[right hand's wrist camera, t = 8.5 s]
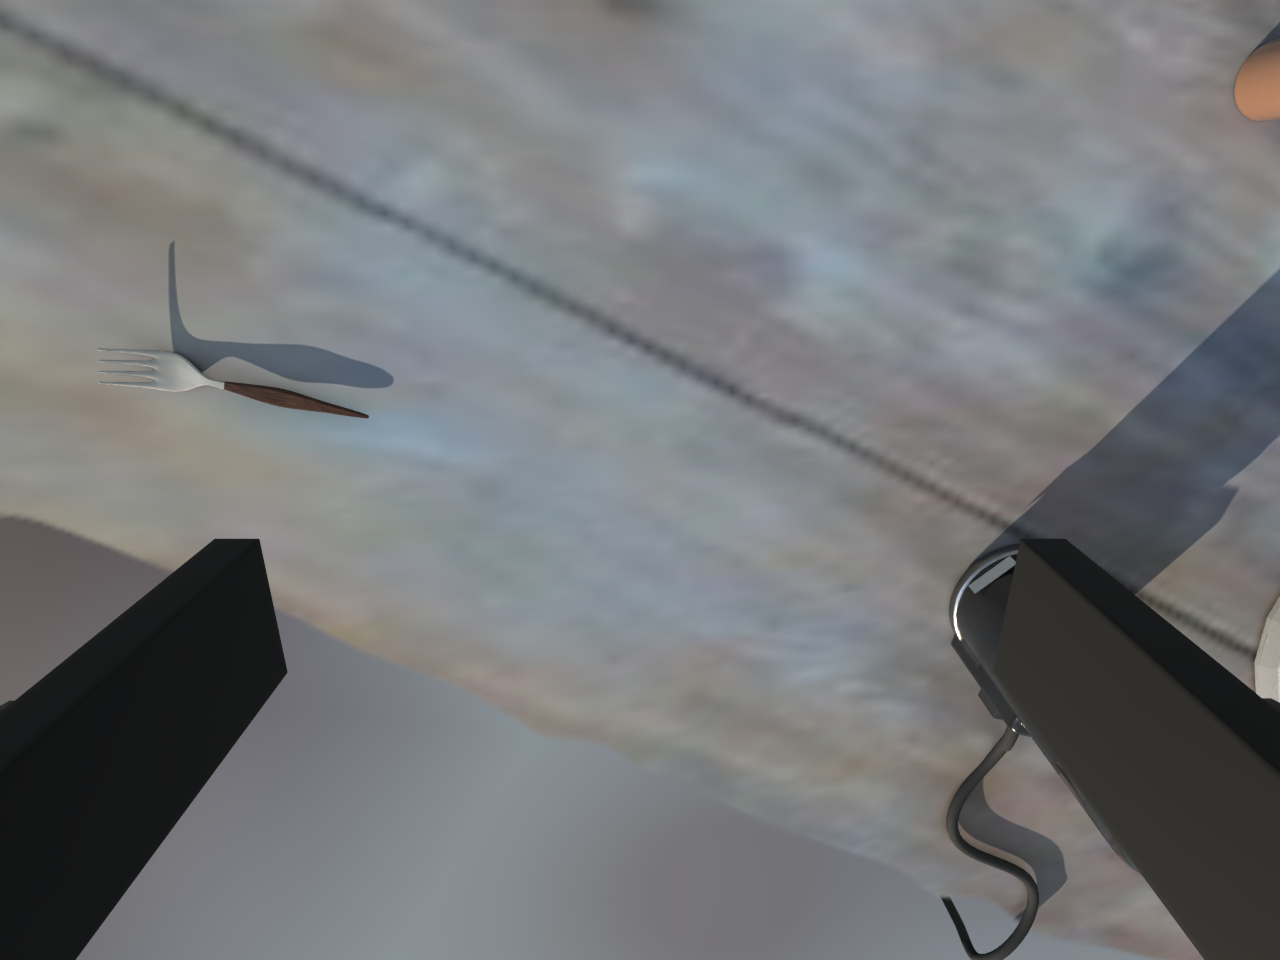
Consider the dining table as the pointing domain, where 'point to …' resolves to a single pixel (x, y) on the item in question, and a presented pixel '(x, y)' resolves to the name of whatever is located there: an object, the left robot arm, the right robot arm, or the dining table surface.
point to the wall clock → (1269, 657)
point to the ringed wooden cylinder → (1260, 83)
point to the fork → (213, 382)
